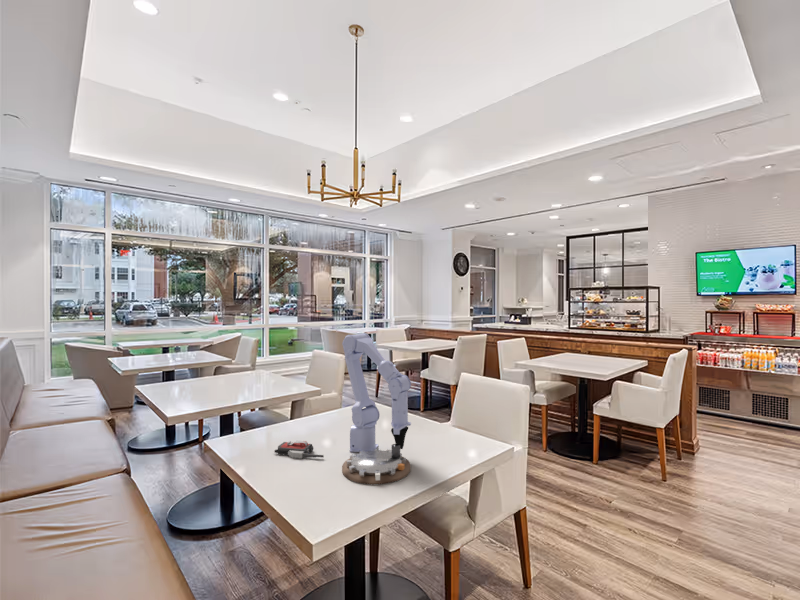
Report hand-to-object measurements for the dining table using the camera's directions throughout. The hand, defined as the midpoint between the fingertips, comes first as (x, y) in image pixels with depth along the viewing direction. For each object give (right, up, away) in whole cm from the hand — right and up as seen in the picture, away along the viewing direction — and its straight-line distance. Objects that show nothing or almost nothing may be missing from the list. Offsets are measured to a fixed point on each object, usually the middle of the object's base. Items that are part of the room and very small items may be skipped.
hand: (399, 448), depth 143 cm
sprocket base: (-8, -4, -8) cm, 12 cm away
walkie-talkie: (-36, -5, +6) cm, 37 cm away
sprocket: (-8, -3, -8) cm, 11 cm away
